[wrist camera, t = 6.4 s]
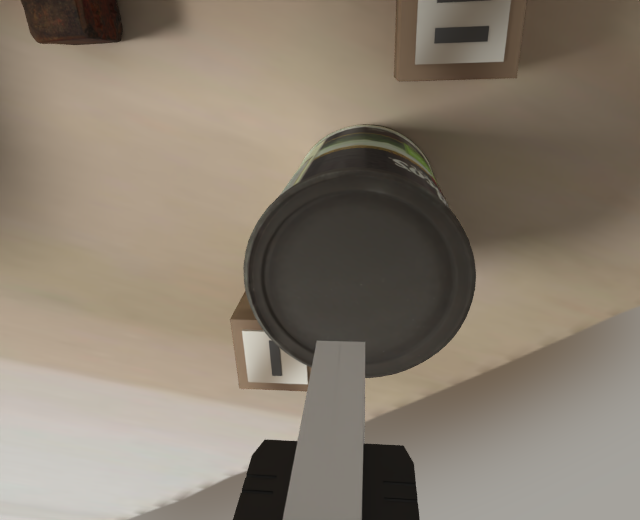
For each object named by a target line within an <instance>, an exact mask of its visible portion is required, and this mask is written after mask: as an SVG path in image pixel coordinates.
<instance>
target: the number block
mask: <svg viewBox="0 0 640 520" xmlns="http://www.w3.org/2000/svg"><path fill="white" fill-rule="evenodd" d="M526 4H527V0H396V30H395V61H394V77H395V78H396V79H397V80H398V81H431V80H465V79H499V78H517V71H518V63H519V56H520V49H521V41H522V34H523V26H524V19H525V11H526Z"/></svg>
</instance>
